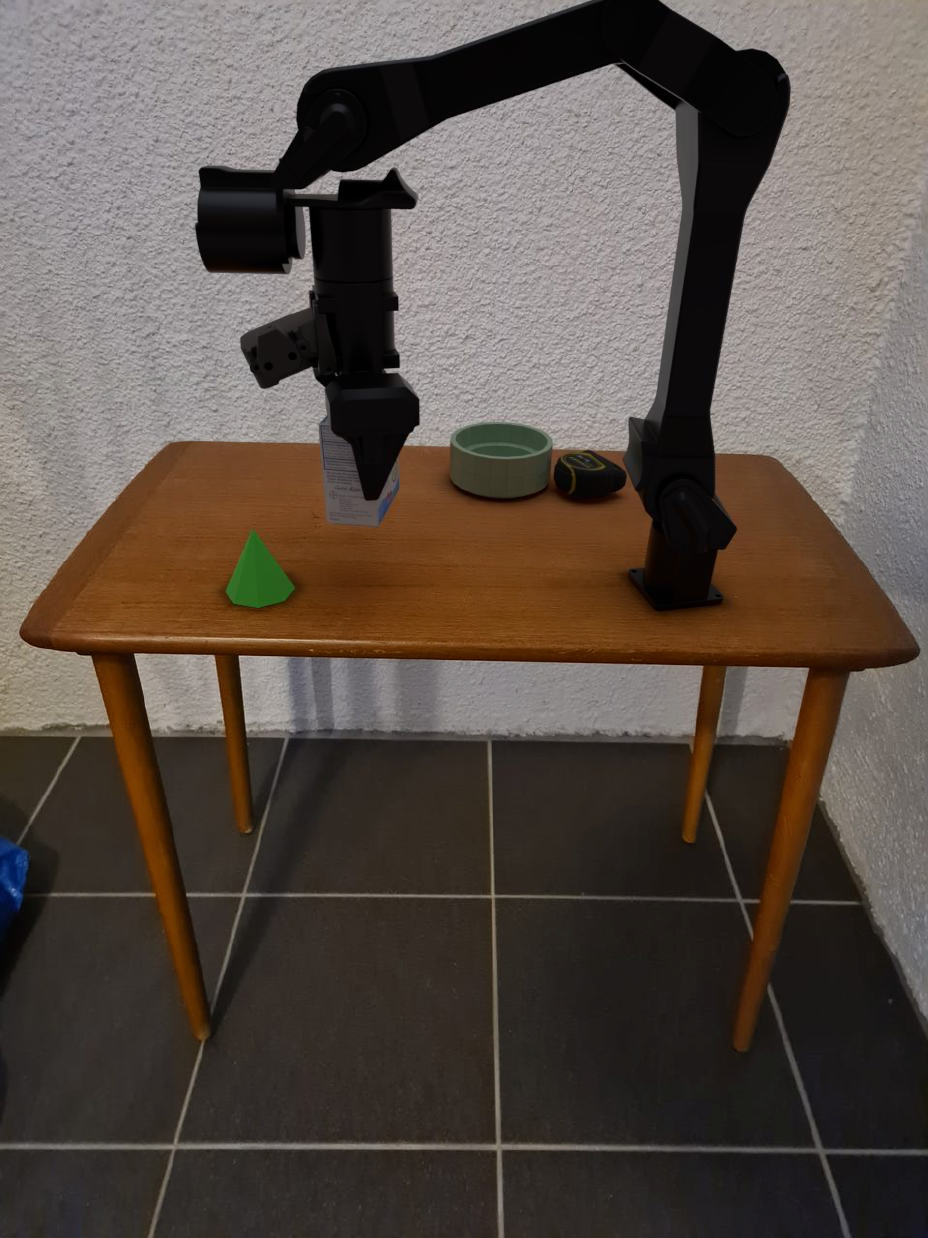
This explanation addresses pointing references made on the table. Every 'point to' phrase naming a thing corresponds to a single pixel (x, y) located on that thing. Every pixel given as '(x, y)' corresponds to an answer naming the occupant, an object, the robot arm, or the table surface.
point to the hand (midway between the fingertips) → (363, 476)
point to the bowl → (500, 459)
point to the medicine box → (350, 484)
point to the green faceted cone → (258, 577)
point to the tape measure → (588, 475)
